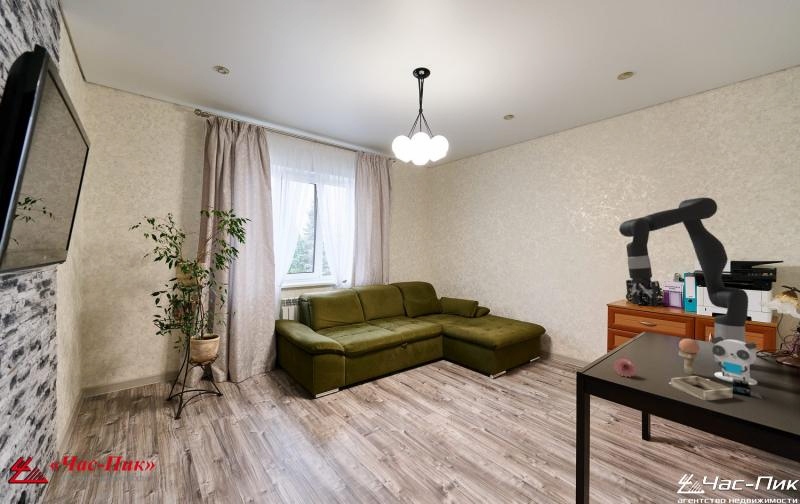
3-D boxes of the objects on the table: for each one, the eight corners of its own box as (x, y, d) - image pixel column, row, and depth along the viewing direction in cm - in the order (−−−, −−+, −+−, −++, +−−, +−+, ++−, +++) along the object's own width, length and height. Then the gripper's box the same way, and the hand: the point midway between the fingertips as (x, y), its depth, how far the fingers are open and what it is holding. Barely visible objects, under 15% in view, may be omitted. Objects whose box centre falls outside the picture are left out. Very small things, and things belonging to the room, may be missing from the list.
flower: (617, 355, 132) (619, 351, 128) (639, 367, 127) (642, 363, 123) (608, 371, 130) (610, 367, 126) (630, 383, 126) (633, 380, 121)
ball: (687, 350, 131) (687, 336, 131) (703, 355, 125) (703, 340, 125) (675, 351, 130) (675, 337, 130) (690, 356, 124) (690, 341, 124)
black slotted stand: (717, 392, 112) (717, 380, 112) (714, 385, 117) (714, 373, 117) (770, 403, 104) (770, 389, 104) (764, 395, 109) (764, 382, 109)
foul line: (707, 379, 121) (707, 378, 121) (710, 380, 120) (710, 379, 120) (668, 383, 119) (668, 382, 119) (671, 384, 118) (671, 383, 118)
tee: (687, 371, 130) (687, 350, 130) (699, 375, 125) (699, 353, 125) (678, 371, 129) (678, 351, 129) (690, 376, 125) (690, 354, 125)
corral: (696, 383, 118) (696, 375, 118) (732, 397, 107) (732, 388, 107) (671, 386, 116) (671, 378, 116) (705, 400, 105) (705, 391, 105)
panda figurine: (706, 375, 126) (706, 337, 125) (720, 370, 130) (720, 334, 130) (748, 387, 115) (748, 346, 114) (763, 381, 119) (763, 342, 119)
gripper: (663, 265, 125) (669, 306, 124) (633, 265, 139) (639, 302, 139) (645, 268, 124) (651, 308, 124) (618, 267, 138) (623, 304, 138)
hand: (644, 305), depth 131 cm, fingers open, 8 cm apart
